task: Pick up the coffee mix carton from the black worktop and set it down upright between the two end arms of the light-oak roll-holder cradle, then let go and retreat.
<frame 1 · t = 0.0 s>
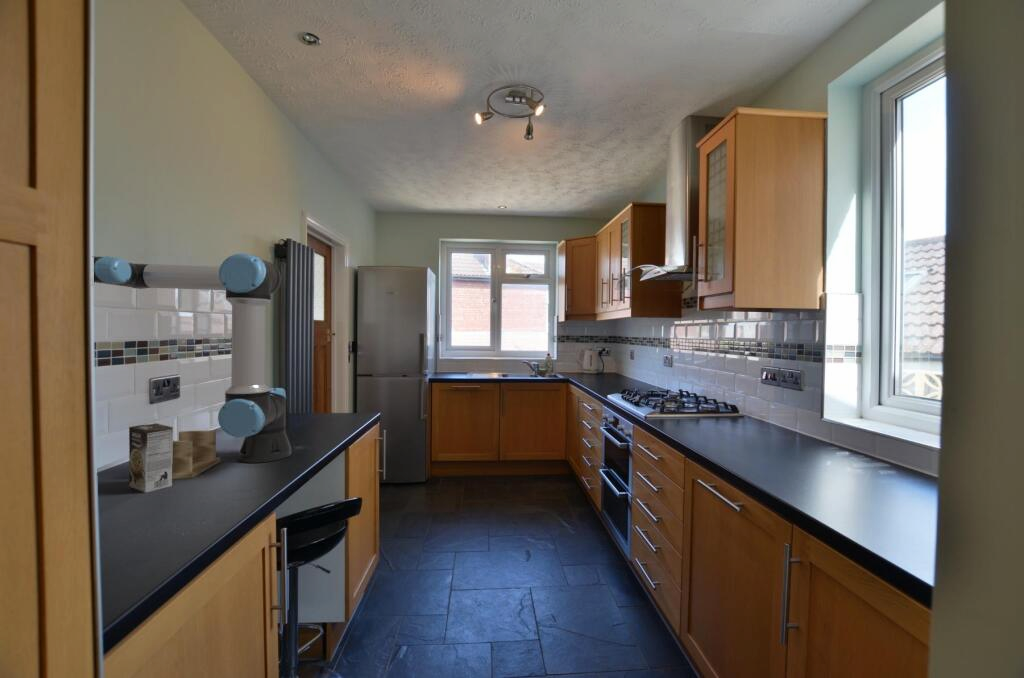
hand: (61, 377, 123), 28 cm above the counter, fingers open, 13 cm apart
coffee box: (150, 487, 116), on the counter
oak holder: (185, 469, 130), on the counter
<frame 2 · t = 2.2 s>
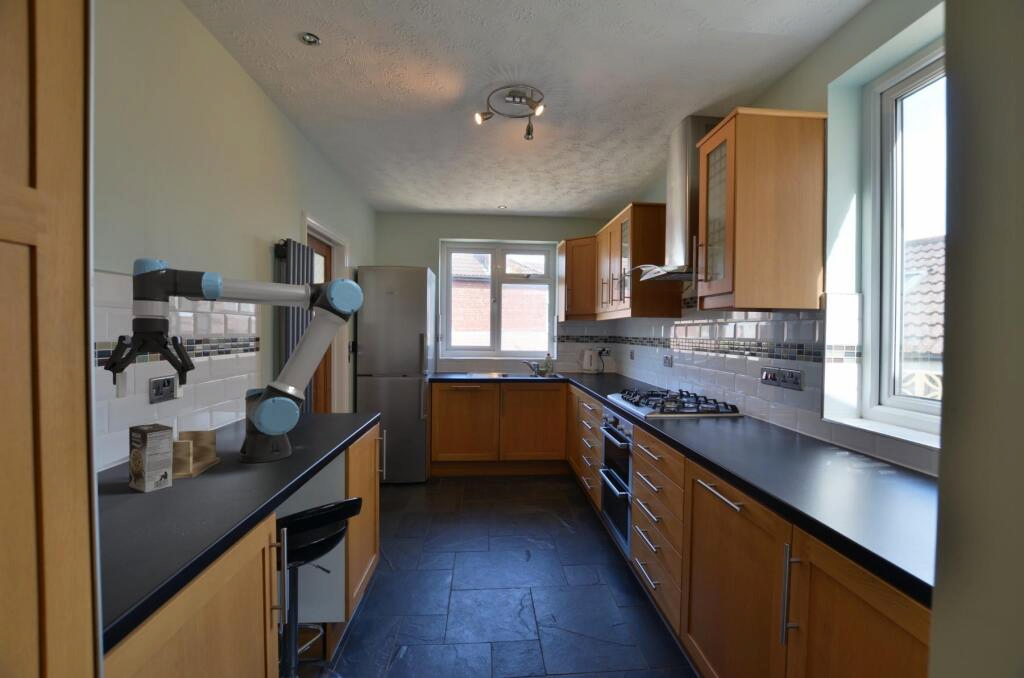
hand: (150, 397, 116), 24 cm above the counter, fingers open, 13 cm apart
nothing on the counter moved.
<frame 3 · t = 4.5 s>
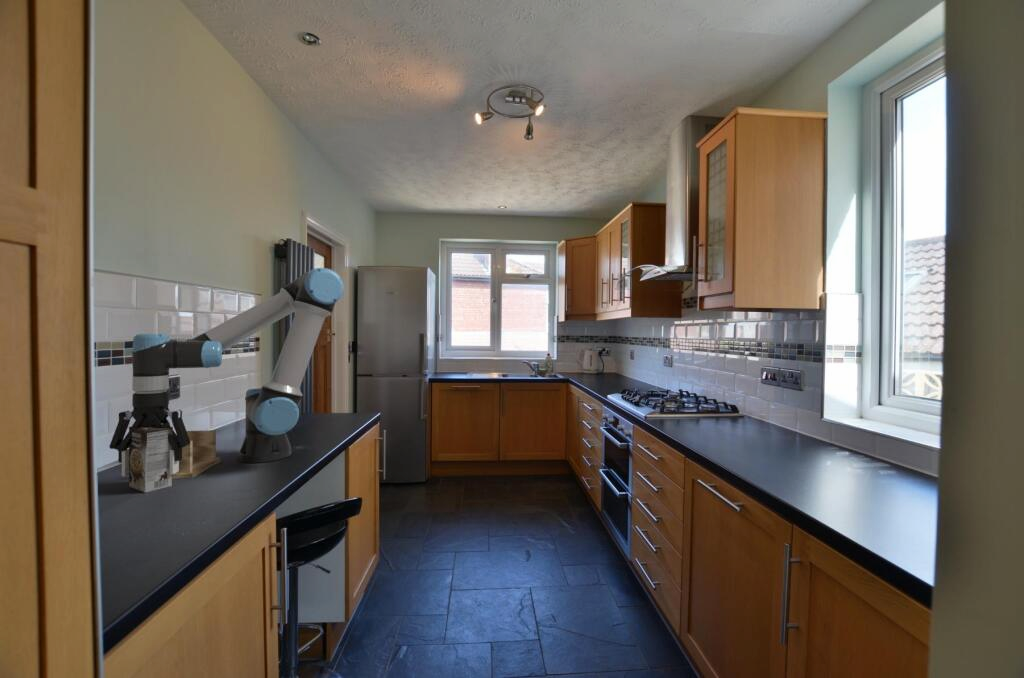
hand: (150, 473, 116), 3 cm above the counter, fingers closed on coffee box, 11 cm apart
coffee box: (150, 487, 116), on the counter, touching gripper
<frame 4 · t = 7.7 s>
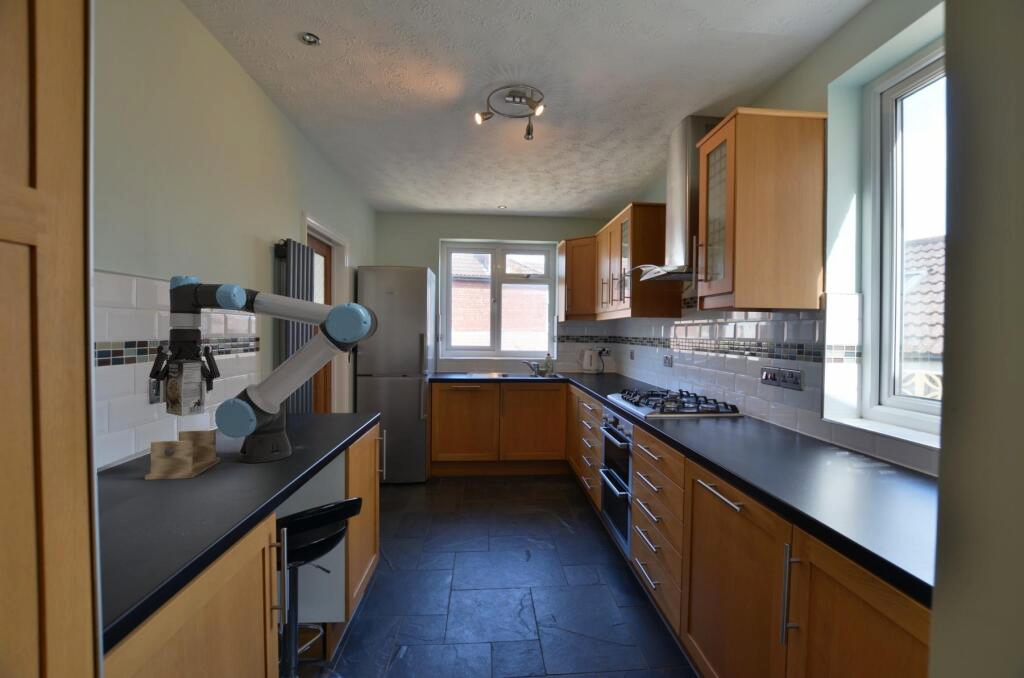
hand: (185, 402, 130), 20 cm above the counter, fingers closed on coffee box, 11 cm apart
coffee box: (185, 414, 130), point 17 cm above the counter, touching gripper
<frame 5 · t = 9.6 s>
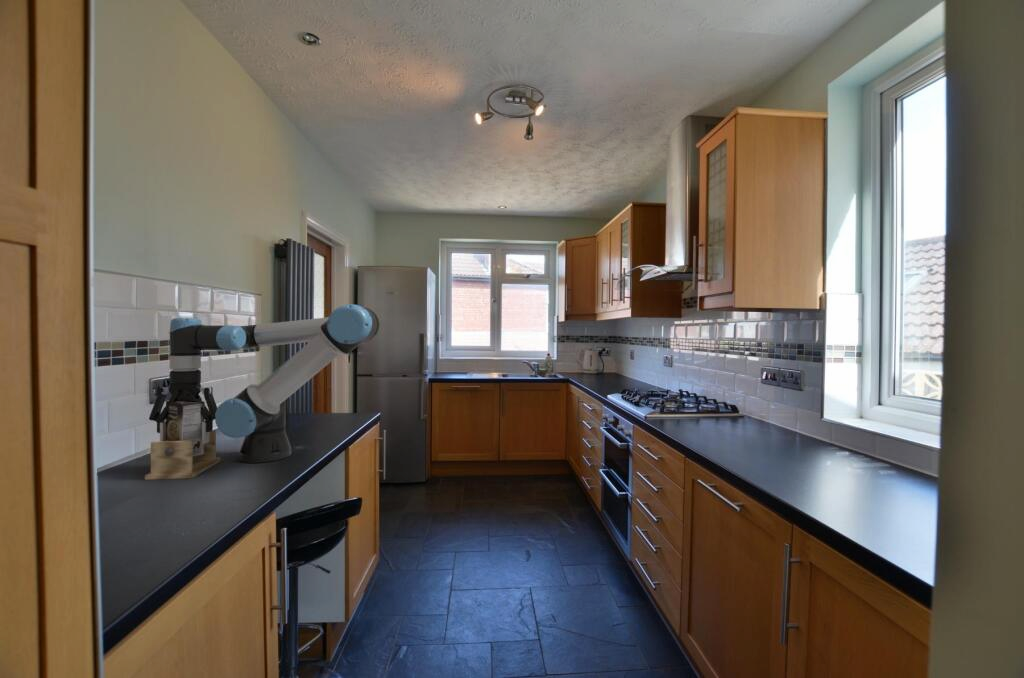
hand: (185, 443, 130), 8 cm above the counter, fingers closed on coffee box, 11 cm apart
coffee box: (184, 455, 130), point 4 cm above the counter, touching gripper
when the fingers open (6 cm above the counter, at t = 11.1 s): coffee box drops 2 cm, resting on oak holder.
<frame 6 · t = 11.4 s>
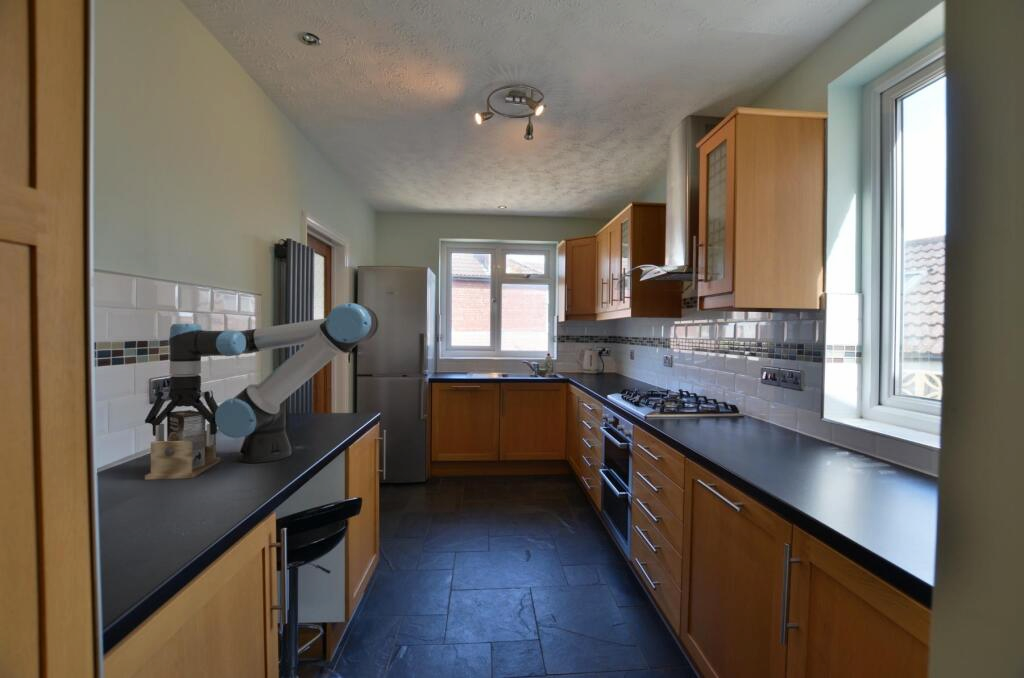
hand: (185, 445, 130), 7 cm above the counter, fingers open, 13 cm apart
coffee box: (186, 466, 130), point 1 cm above the counter, touching oak holder
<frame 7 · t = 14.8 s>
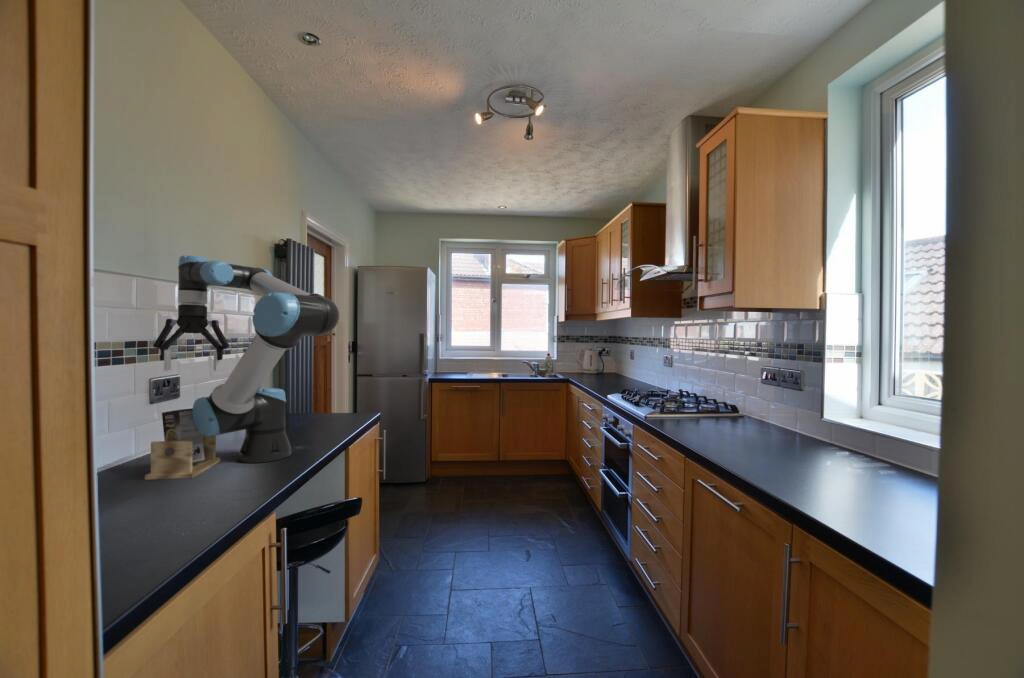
hand: (192, 370, 140), 29 cm above the counter, fingers open, 13 cm apart
coffee box: (186, 463, 130), point 2 cm above the counter, touching arm, oak holder
at the end: coffee box 0.2 cm off-centre on the oak holder, point 1.8 cm above the oak holder's base; coffee box tilted 11°; the gripper is holding nothing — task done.
